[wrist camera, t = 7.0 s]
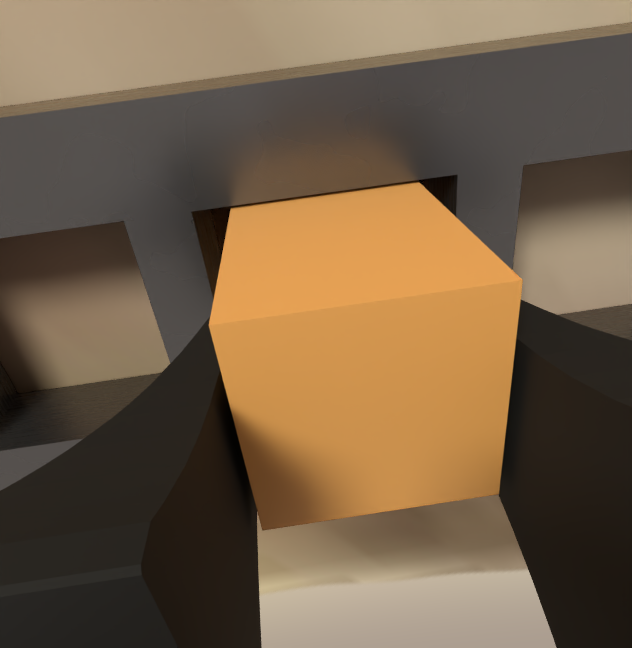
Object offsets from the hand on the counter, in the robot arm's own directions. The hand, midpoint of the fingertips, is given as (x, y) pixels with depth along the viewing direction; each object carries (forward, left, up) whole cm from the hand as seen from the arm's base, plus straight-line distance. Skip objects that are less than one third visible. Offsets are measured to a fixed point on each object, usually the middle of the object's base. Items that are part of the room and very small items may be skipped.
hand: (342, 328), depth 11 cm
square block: (+1, 0, -3) cm, 3 cm away
